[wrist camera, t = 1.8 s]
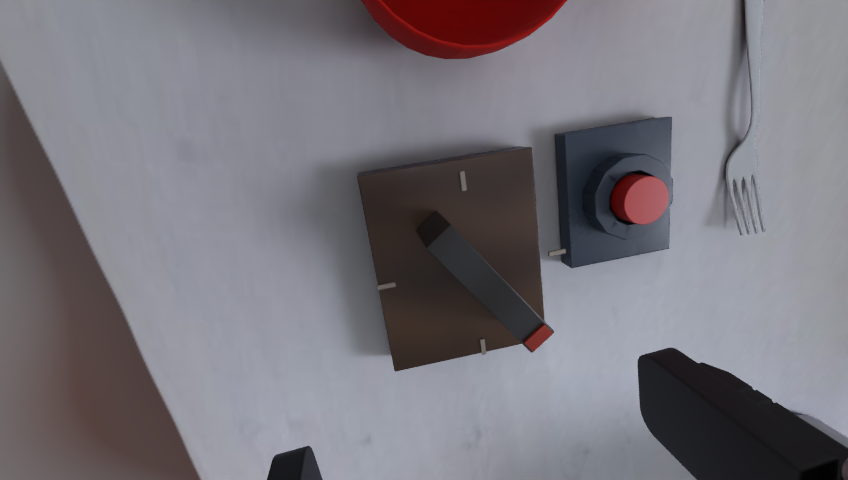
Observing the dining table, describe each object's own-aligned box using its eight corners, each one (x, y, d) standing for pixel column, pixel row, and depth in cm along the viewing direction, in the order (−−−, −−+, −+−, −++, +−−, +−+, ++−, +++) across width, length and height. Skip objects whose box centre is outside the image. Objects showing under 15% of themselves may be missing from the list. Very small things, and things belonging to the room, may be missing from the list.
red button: (609, 178, 31) (624, 180, 29) (652, 170, 31) (669, 172, 29) (610, 223, 32) (624, 228, 30) (652, 215, 32) (668, 220, 30)
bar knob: (415, 230, 30) (426, 249, 25) (436, 209, 30) (451, 224, 25) (507, 321, 33) (533, 355, 28) (526, 303, 33) (556, 333, 28)
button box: (554, 134, 32) (577, 134, 29) (657, 117, 33) (690, 115, 30) (561, 262, 35) (582, 275, 32) (655, 243, 36) (685, 254, 33)
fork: (773, -77, 31) (798, -90, 29) (751, 226, 37) (769, 231, 36) (736, -73, 30) (758, -85, 29) (720, 233, 37) (737, 237, 35)
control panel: (356, 173, 31) (355, 176, 28) (544, 142, 32) (560, 142, 30) (391, 356, 35) (393, 374, 32) (555, 321, 37) (570, 335, 34)
